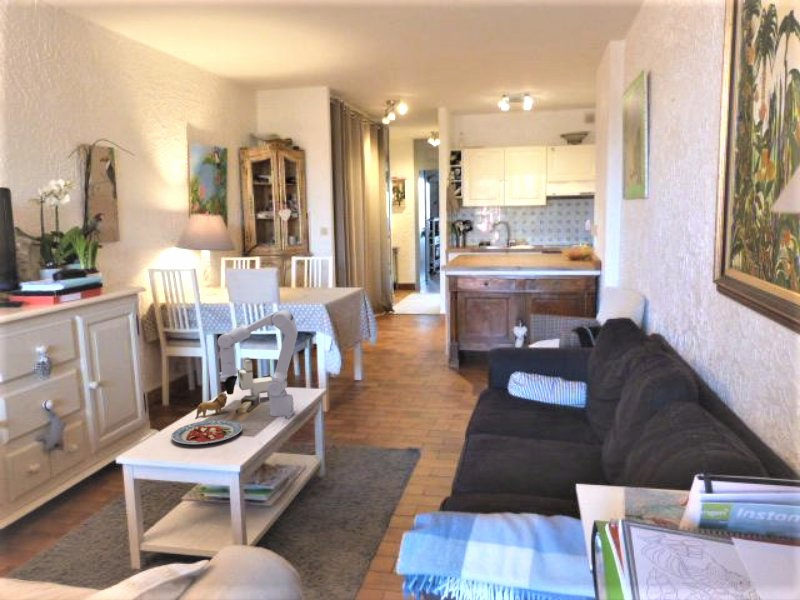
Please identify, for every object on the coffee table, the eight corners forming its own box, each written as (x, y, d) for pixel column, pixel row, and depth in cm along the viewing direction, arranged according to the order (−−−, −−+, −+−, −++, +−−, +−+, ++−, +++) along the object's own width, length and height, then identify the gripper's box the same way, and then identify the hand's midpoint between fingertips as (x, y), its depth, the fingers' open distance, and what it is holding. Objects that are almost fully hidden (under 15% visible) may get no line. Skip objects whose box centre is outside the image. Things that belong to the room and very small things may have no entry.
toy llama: (282, 400, 278) (280, 357, 275) (243, 407, 270) (240, 362, 268) (278, 396, 284) (275, 354, 282) (239, 402, 277) (236, 358, 274)
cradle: (262, 405, 272) (262, 395, 271) (244, 422, 250) (244, 411, 249) (242, 405, 273) (242, 395, 272) (223, 422, 251) (222, 411, 250)
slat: (254, 404, 270) (254, 399, 270) (245, 413, 258) (244, 407, 258) (248, 404, 271) (247, 399, 270) (238, 413, 259) (237, 407, 258)
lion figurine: (224, 411, 265) (223, 390, 264) (230, 413, 261) (229, 393, 260) (192, 419, 255) (190, 398, 254) (197, 422, 251) (196, 401, 250)
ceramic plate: (158, 448, 225) (157, 440, 224) (192, 424, 250) (191, 417, 249) (225, 450, 220) (224, 442, 220) (253, 425, 246) (252, 418, 245)
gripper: (225, 358, 263) (227, 389, 265) (211, 366, 249) (214, 399, 250) (241, 358, 262) (243, 389, 264) (228, 366, 248) (230, 399, 250)
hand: (230, 394), depth 257 cm, fingers closed
